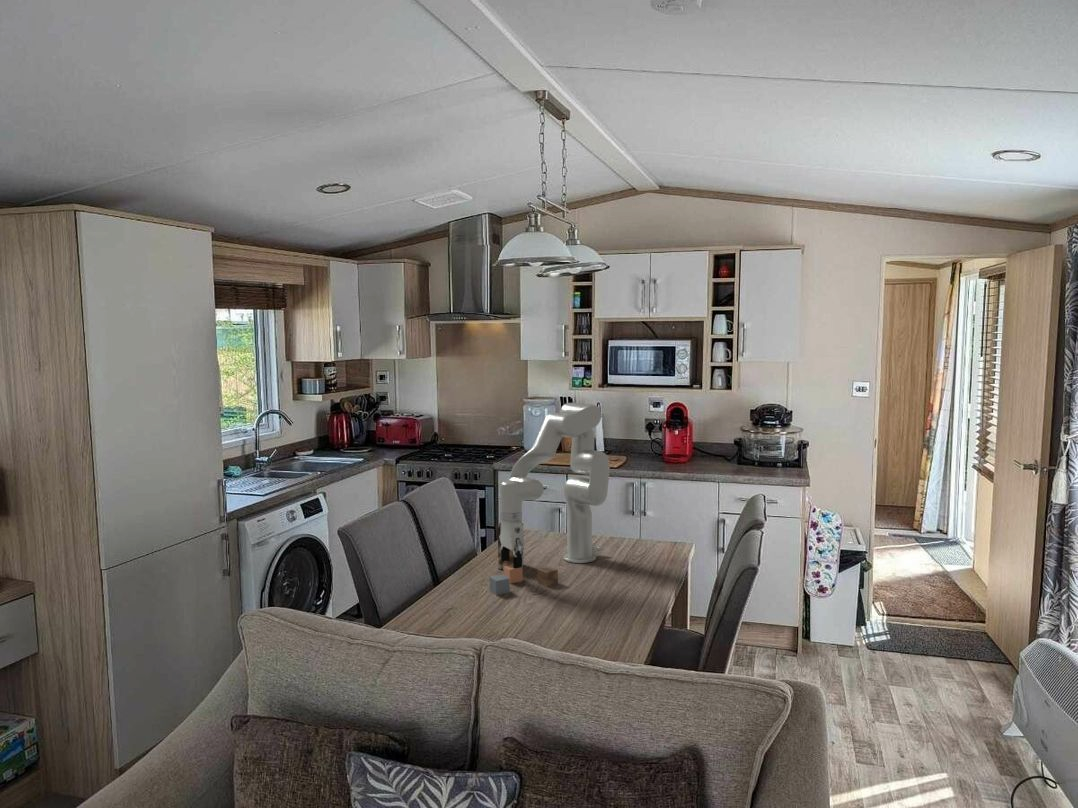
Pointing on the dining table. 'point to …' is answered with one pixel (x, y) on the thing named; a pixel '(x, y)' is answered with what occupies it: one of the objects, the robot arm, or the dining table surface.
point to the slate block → (499, 584)
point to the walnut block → (547, 576)
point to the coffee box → (500, 563)
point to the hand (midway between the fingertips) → (511, 564)
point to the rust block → (513, 573)
